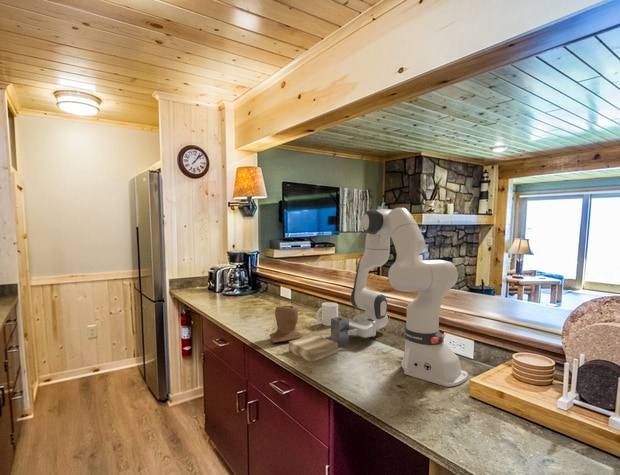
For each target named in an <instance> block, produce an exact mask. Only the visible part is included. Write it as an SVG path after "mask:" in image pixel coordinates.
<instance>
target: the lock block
mask: <svg viewBox="0 0 620 475" xmlns="http://www.w3.org/2000/svg"><path fill="white" fill-rule="evenodd" d="M349 319H350V318H349V317H345V316H342V315H340V314H338V317H335V318H331V326H330V340H331V341H333V342H336V343H338V348H341V347H344V346H346V345H347V346H348V345H349V344H350V335H347V334H346V331H347V330H349Z"/></svg>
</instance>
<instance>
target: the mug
mask: <svg viewBox="0 0 620 475" xmlns="http://www.w3.org/2000/svg"><path fill="white" fill-rule="evenodd" d="M320 313H321V319H320ZM338 316H339V304H338V303H337V302H332V301H331V302H322V303H321V307H320V308H318V310H317V311H316V314H315V318H316V320H317V321H318V323H321V324H322V325H323V326H325V327H331V318H335V317H338Z"/></svg>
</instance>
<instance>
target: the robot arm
mask: <svg viewBox="0 0 620 475" xmlns="http://www.w3.org/2000/svg"><path fill="white" fill-rule="evenodd" d="M361 226H362V229H363V230H364V232H365V233H366V237H365V245H364V246H365V247H364V251H363V252H364V253H363V255H362V256H361V257H360V259H359V260H358V264H357V266H356V272H355V278H354V283H353V288H352V291H351V293H350V303H351V305H352V306H353V308H355V309H359V310H363V311H365V312H363V313H359V314H355V315H354V316H353V317H352V318H349V330H347V331H346V334H347V335H349V336H354V335H355V336H357V337H362V338H370V337H371V338H372V337H375V336H376V335H377V331H378V330H380V329H383V328H385V327H386V326H387V325H388V324H389V322H388V316H387V313H388V307H389V304H388V300H387V297H386V296H385V295H384V294H382V293H379V292H376V291H373V290H370V289H367V281H368V278H369V277H368V275H369V272H370V270H372V269H374V268H379V267H382V266H384V265H385V264H386V263H387V262H388V260H389V258H390V249H391V240H392V243H393V247H394V249H395V253H396V259H395V261H394V262H393V264H391V265H390V267H389V269H388V276H387V279H388V282H389V284H390V286H391V287H392V288H393V289H394V290H395V291H400V292H407V293H412V292H418V294H417V296H416V297H415V298H414V299H413V300H412V301H410V302H409V303H408V305H407V306H406V320H405V322H406V324H405V325H406V326H405V328H404V339H405V344H404V352H403V357H402V361H401V363H400V366H401V368H402V369H403V373H404V375H408V376H410V377H412V378H413V377H414V378H416V379H420V380H423V381H426V382H430V383H434V384H437V385H440V386H443V387H454V386H458V385H461V384H463V383H464V382H466V381H467V380H468V379H469V374H468V372H467V371H466V370H463V369H462V366H461V362H460V358H459V356H458V355H457V354H456V353H455V352H453V350H451V348H449V347H448V345H447V344H446V343H445V342H444V340H443V339H444V338H445V337H446V333H444V334H442V333H441V331H440V329H439V324H440V311H441V306H442V304H443V301H444V298H445V297H446V295H447V293H448V292H449V291H450V290H451V288H453V287H454V286H455V285H456V284H457V281H458V278H459V274H458V273H459V272H458V269H457V267H456V265H455V264H454V263H453V262H452V261H448V260H444V259H421V257H420V255H421V254H422V253H423V252H424V251H425V248H426V240H425V238H424V235H423V234H422V231H421V229H420V228H419V225H418V223H417V221H416V219H415V217H414V216H413V214H412V213H411V212H410V210H409V209H407V208H405V207H395V208H393V209H391V208H390V209H389V208H380V209H368V210H366V211H365V212H364V213H363V214H362V220H361ZM387 323H388V324H387Z"/></svg>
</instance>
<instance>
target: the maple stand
mask: <svg viewBox="0 0 620 475" xmlns="http://www.w3.org/2000/svg"><path fill="white" fill-rule="evenodd" d="M288 352H289V353H291V354H293V355H295V356H297V357H300V358H301V359H303V360H306V361H308V362H310V363H312V362H315V361H318V360H321V359H325V358H327V357H331V356H333V355H337V354H338V353H339V347H338V343H336V342H333V341H331V339H328V338H325V337H323V336H321V335H318V334H311V335H307V336H303V337H301V338H298V339H293V340H288Z"/></svg>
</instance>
